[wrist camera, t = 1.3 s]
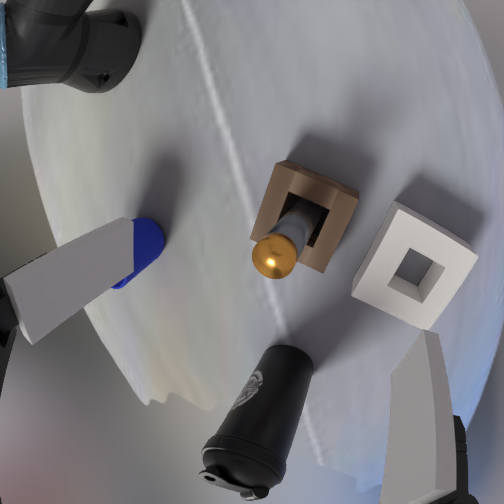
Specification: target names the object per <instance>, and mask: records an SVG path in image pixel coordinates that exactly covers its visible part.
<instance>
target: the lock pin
mask: <svg viewBox="0 0 504 504" xmlns="http://www.w3.org/2000/svg"><path fill="white" fill-rule="evenodd" d="M321 213H322V209H321V206H320V205H318V204H316V203H314V202H312V201H310V200H307V199H305V198H301V199H300V200H299V201H298V202H297V203H296V204H295V205H294V206H293V207H292V208H291V209H290V210H289V211H288V212H287V213H286V214H285V215H284V216H283V217H282V218H281V219H280V220H279V221H278V222H277V223H276V224H275V225H274V226H273V227H272V229H271V230H270V231H269V232H268V233H267V234H266V235H265V236H264V237H263V238H262V239H261V240H260V241H259V242H258V243H257V244H256V245H255V247H254V249H253V252H252V260H253V263H254V266H255V267H256V269H257V270H258V271H259V272H260V273H261V274H262V275H264V276H266V277H268V278H271V279H280V278H284V277H286V276H287V275H289V274H290V273H291V271H292V270H293V268H294V266H295V264H296V262H297V260H298V258H299V257H300V255H301V253H302V251H303V249H304V247H305V245H306V243H307V242H308V240H309V238H310V236H311V234H312V232H313V230H314V228H315V226H316V224H317V222H318V220H319V218H320V217H321Z"/></svg>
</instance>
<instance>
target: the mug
mask: <svg viewBox="0 0 504 504" xmlns="http://www.w3.org/2000/svg"><path fill="white" fill-rule="evenodd" d="M131 221H133V222H134V224H133V261H134V272H133V273H131V274H130V275H128V276H127V277H125V278H124V279H122V280H121V281H119V282H118V283H117V284H115V285H114V286H112V287H111V288H113V289H120V288H122V287H124V286H125V285H126V284H127V283H128V282H129V281H131V280H132V279H133V278H134V277H135V276H136V275H138V274H139V273H140V272H141V271H142V270H144V269H145V268H146V267H147V266H148V265H149V264H151V263H152V262H153V261H154V260H155V259H157V258H158V257H159V256H160V254H161V253H162V251H163V248H164V237H163V233H162V231H161V229H160V227H159V226H158V225H157V224H156V223H155V222H154V221H153V220H151V219H149V218H143V217H142V218H136V219H133V220H131Z"/></svg>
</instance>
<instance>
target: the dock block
mask: <svg viewBox="0 0 504 504" xmlns="http://www.w3.org/2000/svg"><path fill="white" fill-rule="evenodd" d="M409 248H412V249H413V250H415V251H417V252H419V253H421V254H423V255H424V256H426V257H428V258H430V259H432V260H433V263H432V264H431V266H430V268H429V269H428V271H427V273H426V274H425V276H424V277H423V279H422V280H421V282H420V284H419V285H418V287H417V286H416V285H414V284H412V283H410V282H408V281H406V280H404V279H402V278H400V277H398V276H396V275H394V274H395V272H396V270H397V269H398V267H399V265H400V264H401V262H402V260H403V258H404V257H405V255H406V253H407V251H408V250H409ZM478 257H479V256H478V255H477V254H476V252H475V251H474V250H473V249H472V247H471V246H470V245H469V244H468V243H467V242H466V241H464V240H462V239H461V238H459V237H458V236H456V235H455V234H453V233H451V232H450V231H448V230H446V229H445V228H443V227H441V226H440V225H438V224H436V223H435V222H433V221H431V220H430V219H428V218H426V217H424V216H423V215H421V214H419V213H417V212H415V211H414V210H412V209H410V208H408V207H406V206H404V205H403V204H401V203H399V202H397V201H395V200H394V201H393V203H392V206H391V208H390V210H389V212H388V214H387V216H386V218H385V220H384V222H383V224H382V226H381V228H380V230H379V232H378V234H377V236H376V238H375V240H374V242H373V244H372V245H371V247H370V249H369V251H368V253H367V255H366V257H365V258H364V260H363V262H362V264H361V266H360V268H359V269H358V271H357V273H356V275H355V276H354V278H353V283H352V292H351V296H353V297H355V298H357V299H359V300H361V301H363V302H365V303H367V304H369V305H371V306H373V307H376V308H378V309H380V310H382V311H384V312H386V313H388V314H390V315H392V316H394V317H396V318H398V319H401V320H403V321H405V322H407V323H409V324H411V325H413V326H415V327H417V328H419V329H421V330H423V329H425V330H427V331H428V330H429V329H430V327H431V326H432V325H433V323H434V322H435V321H436V320H437V318H438V317H439V316H440V314H441V313H442V312H443V310H444V309H445V307H446V306H447V305H448V303H449V302H450V300H451V299H452V298H453V296H454V295H455V293H456V292H457V290H458V289H459V287H460V286H461V284H462V283H463V281H464V280H465V278H466V277H467V275H468V273H469V272H470V270H471V268H472V267H473V265H474V264H475V262H476V260H477V258H478Z"/></svg>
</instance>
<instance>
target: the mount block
mask: <svg viewBox="0 0 504 504" xmlns="http://www.w3.org/2000/svg"><path fill="white" fill-rule="evenodd" d="M293 194H296V195H298V196H301V197H303V198H305V199H307V200H310V201H312V202H314V203H316V204H318V205H321V206H323V207H325V208H327V209H329V210H330V211H329V213H328V216H327V218H326V220H325V222H324V225H323V227H322V229H321V231H320V234H319V236H318V235H316V234H314V233H312V234H311V236H310V238H309V240H308V242H307V243H306V245H305V247H304V249H303V251H302V253H301V255H300V257H299V258H298V260H297V261H298V262H300V263H302V264H304V265H306V266H308V267H311V268H313V269H315V270H317V271H319V272H321V273H324V271H325V269H326V267H327V265H328V263H329V261H330V259H331V257H332V255H333V253H334V251H335V249H336V247H337V245H338V243H339V241H340V239H341V237H342V235H343V233H344V231H345V229H346V226H347V224H348V222H349V220H350V218H351V216H352V214H353V211H354V209H355V207H356V205H357V203H358V200H359V192H358V191H356V190H353V189H351V188H349V187H347V186H345V185H343V184H340V183H338V182H336V181H334V180H332V179H329V178H327V177H325V176H323V175H320V174H318V173H316V172H313V171H311V170H309V169H306V168H304V167H301V166H299V165H297V164H294V163H292V162H289V161H287V160H284V161H281V162H278V163H276V164H275V167H274V170H273V173H272V175H271V178H270V181H269V184H268V187H267V190H266V193H265V196H264V199H263V201H262V204H261V207H260V210H259V213H258V216H257V219H256V222H255V225H254V228H253V231H252V233H251V236H250V239H251V240H253V241H255V242H259V241H260V240H261V239H262V238H263V237H264V236H265V235H266V234H267V233H268V232H269V231H270V230H271V229H272V227H273V226H274V225H275V224H276V223H277V222H278V221H279V220H280V219H281V218H282V217H283V216H284V215H285V214H286V212H287V209H288V207H289V204H290V201H291V199H292V196H293Z"/></svg>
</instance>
